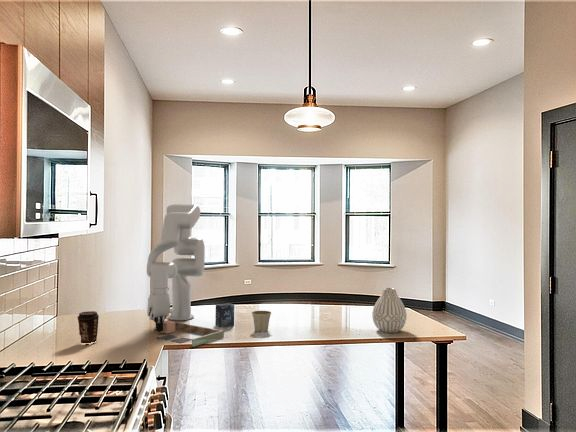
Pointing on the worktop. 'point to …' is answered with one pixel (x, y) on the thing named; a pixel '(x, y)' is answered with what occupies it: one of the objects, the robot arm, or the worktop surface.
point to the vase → (389, 312)
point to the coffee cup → (88, 326)
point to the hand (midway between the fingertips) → (159, 331)
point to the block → (168, 326)
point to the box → (224, 315)
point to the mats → (175, 339)
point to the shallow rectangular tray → (208, 332)
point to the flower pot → (261, 320)
